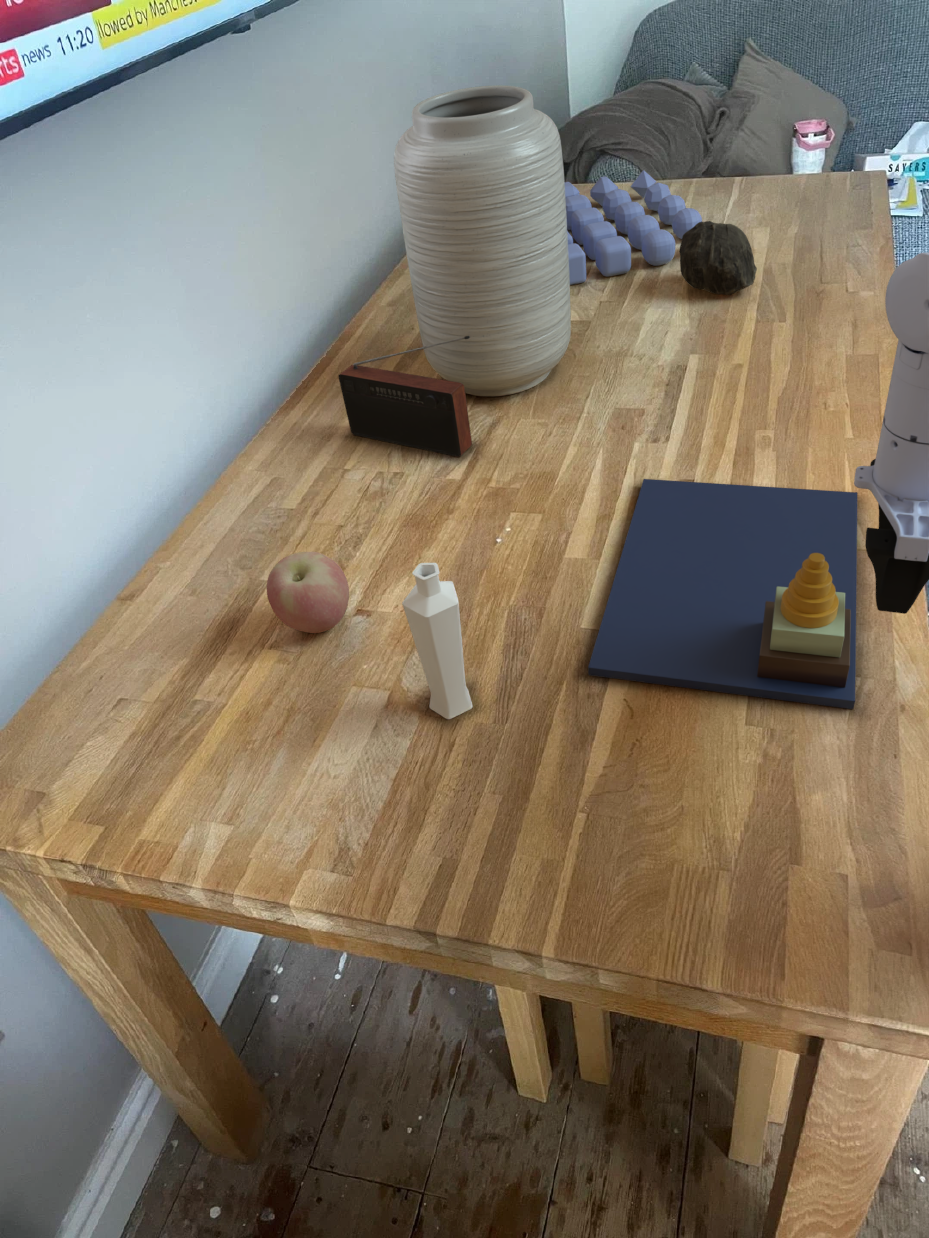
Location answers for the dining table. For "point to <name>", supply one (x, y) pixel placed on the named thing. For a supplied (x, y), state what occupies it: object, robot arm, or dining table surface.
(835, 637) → the block stack
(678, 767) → the dining table surface
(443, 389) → the radio
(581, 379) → the dining table surface
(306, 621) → the apple
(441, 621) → the perfume bottle
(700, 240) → the rock
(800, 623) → the cone
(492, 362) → the vase
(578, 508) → the dining table surface
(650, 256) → the blocks
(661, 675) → the board
